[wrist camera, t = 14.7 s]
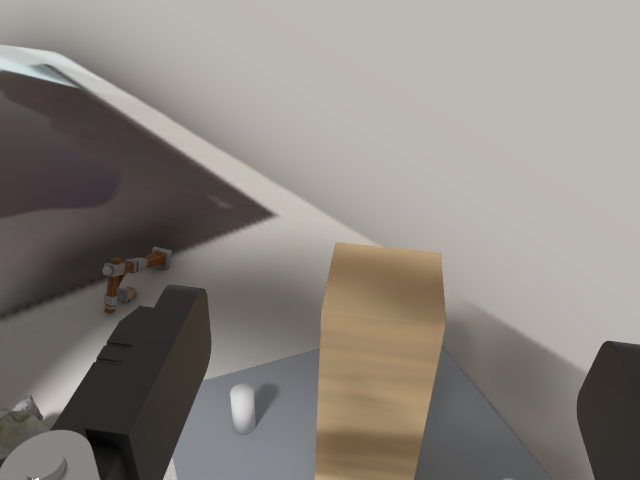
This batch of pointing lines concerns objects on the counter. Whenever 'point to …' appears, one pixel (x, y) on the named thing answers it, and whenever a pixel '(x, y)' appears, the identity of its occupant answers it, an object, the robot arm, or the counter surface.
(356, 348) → the oak post
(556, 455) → the counter surface
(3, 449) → the mineral rock
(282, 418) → the peg board
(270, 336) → the counter surface
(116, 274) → the orange grey jointed piece
